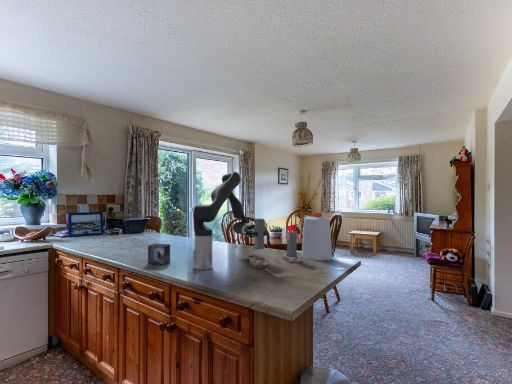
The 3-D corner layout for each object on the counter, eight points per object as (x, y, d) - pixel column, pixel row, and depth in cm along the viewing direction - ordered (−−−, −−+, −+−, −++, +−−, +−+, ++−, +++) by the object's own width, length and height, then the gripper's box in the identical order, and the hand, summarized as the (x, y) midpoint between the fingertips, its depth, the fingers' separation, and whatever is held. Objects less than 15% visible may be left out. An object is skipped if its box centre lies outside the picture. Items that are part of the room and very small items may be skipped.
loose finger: (257, 249, 148) (257, 219, 148) (254, 247, 152) (254, 218, 152) (265, 248, 149) (265, 219, 149) (262, 247, 153) (262, 218, 153)
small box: (147, 264, 153) (147, 245, 153) (154, 261, 159) (154, 243, 159) (164, 265, 150) (164, 246, 150) (170, 262, 157) (170, 244, 157)
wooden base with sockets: (255, 268, 145) (255, 261, 145) (249, 264, 153) (249, 257, 153) (302, 264, 155) (302, 256, 155) (294, 260, 163) (294, 253, 163)
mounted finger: (289, 261, 155) (289, 232, 155) (286, 259, 158) (286, 231, 159) (296, 260, 156) (296, 232, 156) (293, 259, 160) (293, 231, 160)
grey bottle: (318, 263, 156) (319, 213, 156) (298, 258, 167) (298, 212, 168) (334, 259, 165) (334, 212, 166) (314, 255, 177) (314, 211, 177)
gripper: (238, 224, 161) (248, 227, 145) (261, 223, 166) (273, 226, 150) (238, 237, 161) (248, 242, 145) (261, 235, 166) (273, 240, 150)
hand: (261, 234), depth 148 cm, fingers closed on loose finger, 4 cm apart
